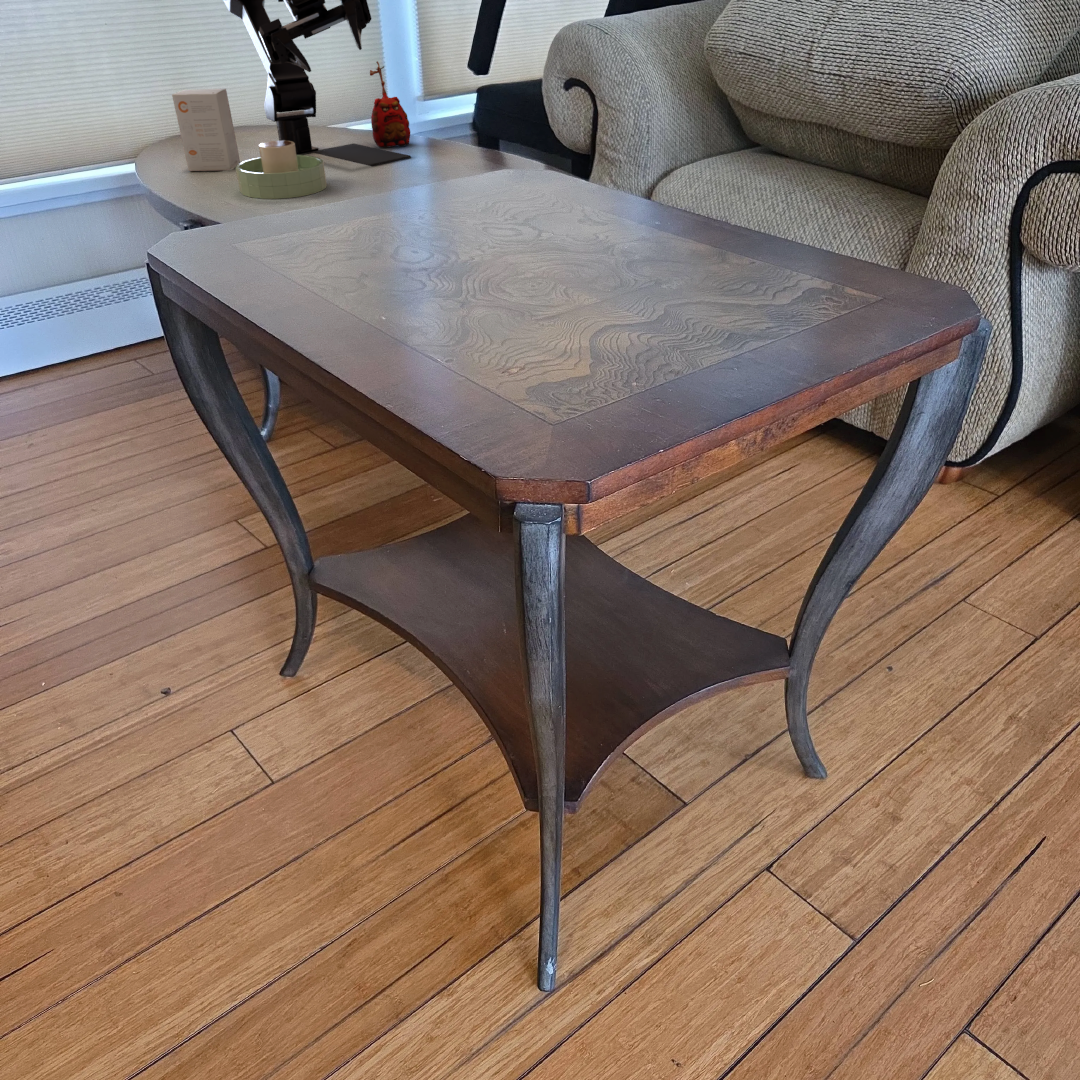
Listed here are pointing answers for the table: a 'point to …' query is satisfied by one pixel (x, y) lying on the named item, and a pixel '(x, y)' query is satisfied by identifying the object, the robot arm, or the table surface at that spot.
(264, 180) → the bowl
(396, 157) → the mat
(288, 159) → the cup
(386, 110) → the red clay folk toy
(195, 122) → the small box
